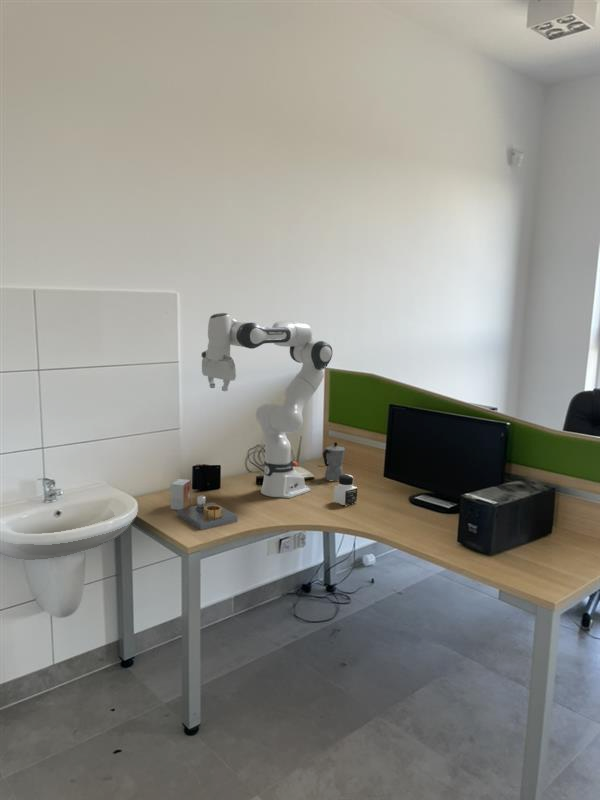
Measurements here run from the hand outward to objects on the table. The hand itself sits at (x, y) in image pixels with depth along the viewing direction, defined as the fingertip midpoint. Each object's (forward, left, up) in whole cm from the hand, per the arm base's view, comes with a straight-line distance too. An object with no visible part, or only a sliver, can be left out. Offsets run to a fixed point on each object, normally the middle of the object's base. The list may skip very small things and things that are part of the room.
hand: (218, 389), depth 242 cm
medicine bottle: (-47, +27, -48) cm, 72 cm away
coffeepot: (-66, -2, -48) cm, 82 cm away
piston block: (+11, +11, -48) cm, 51 cm away
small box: (+13, -6, -48) cm, 50 cm away
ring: (+11, +16, -46) cm, 50 cm away
